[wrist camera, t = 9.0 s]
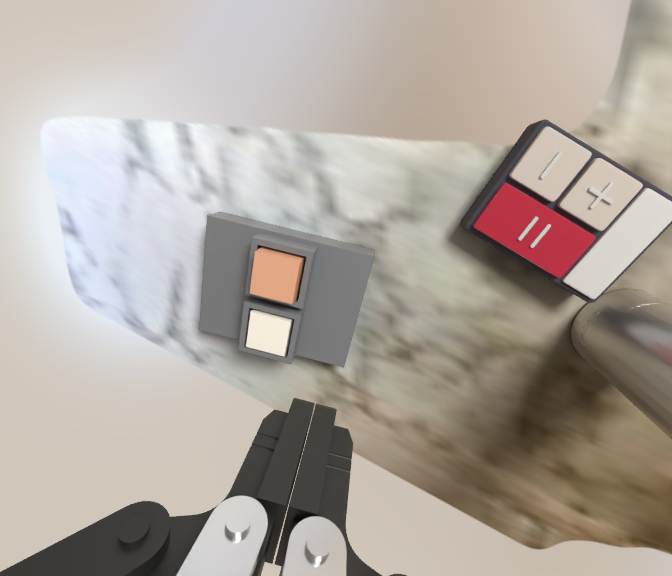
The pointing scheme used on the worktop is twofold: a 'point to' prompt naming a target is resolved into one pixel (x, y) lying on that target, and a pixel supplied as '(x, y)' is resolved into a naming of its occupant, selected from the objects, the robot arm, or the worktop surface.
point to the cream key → (269, 332)
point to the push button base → (307, 310)
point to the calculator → (568, 211)
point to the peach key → (276, 274)
